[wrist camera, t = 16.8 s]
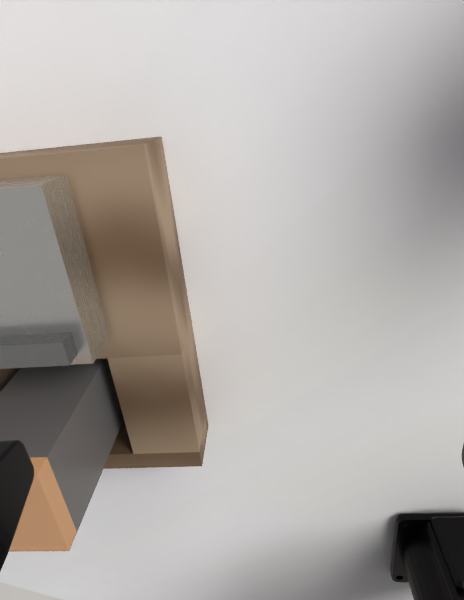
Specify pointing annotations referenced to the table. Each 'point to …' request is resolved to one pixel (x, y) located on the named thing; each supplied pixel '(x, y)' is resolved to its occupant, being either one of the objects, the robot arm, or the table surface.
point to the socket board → (134, 293)
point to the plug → (60, 445)
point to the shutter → (45, 278)
